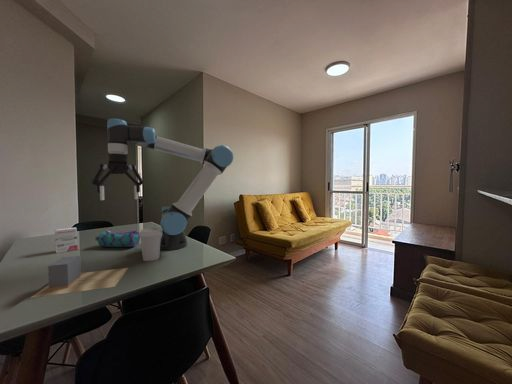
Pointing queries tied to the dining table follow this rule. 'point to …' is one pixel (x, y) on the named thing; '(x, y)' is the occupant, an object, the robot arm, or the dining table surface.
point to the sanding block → (64, 272)
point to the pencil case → (118, 239)
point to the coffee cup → (150, 243)
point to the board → (88, 282)
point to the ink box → (66, 239)
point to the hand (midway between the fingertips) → (119, 199)
